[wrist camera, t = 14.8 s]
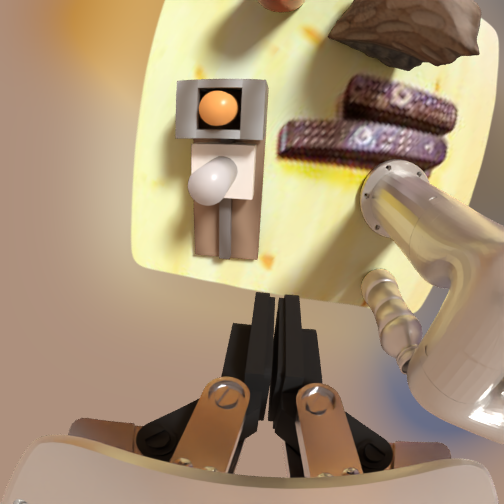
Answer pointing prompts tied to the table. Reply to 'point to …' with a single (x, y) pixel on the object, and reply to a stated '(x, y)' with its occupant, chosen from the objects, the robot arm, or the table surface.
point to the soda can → (281, 5)
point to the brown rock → (411, 30)
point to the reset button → (219, 108)
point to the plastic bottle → (392, 317)
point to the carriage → (222, 171)
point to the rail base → (239, 207)
